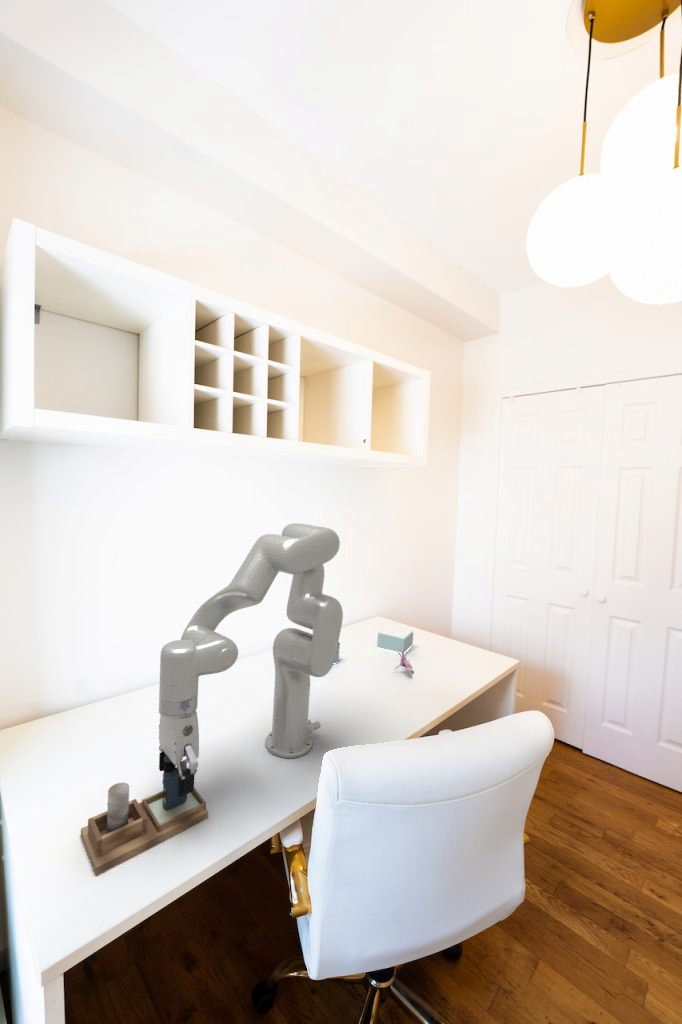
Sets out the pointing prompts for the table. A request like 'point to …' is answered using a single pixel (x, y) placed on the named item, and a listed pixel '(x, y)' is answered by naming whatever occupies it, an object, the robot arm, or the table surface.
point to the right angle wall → (395, 642)
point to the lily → (404, 661)
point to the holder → (136, 825)
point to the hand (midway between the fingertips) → (175, 780)
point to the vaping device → (171, 785)
